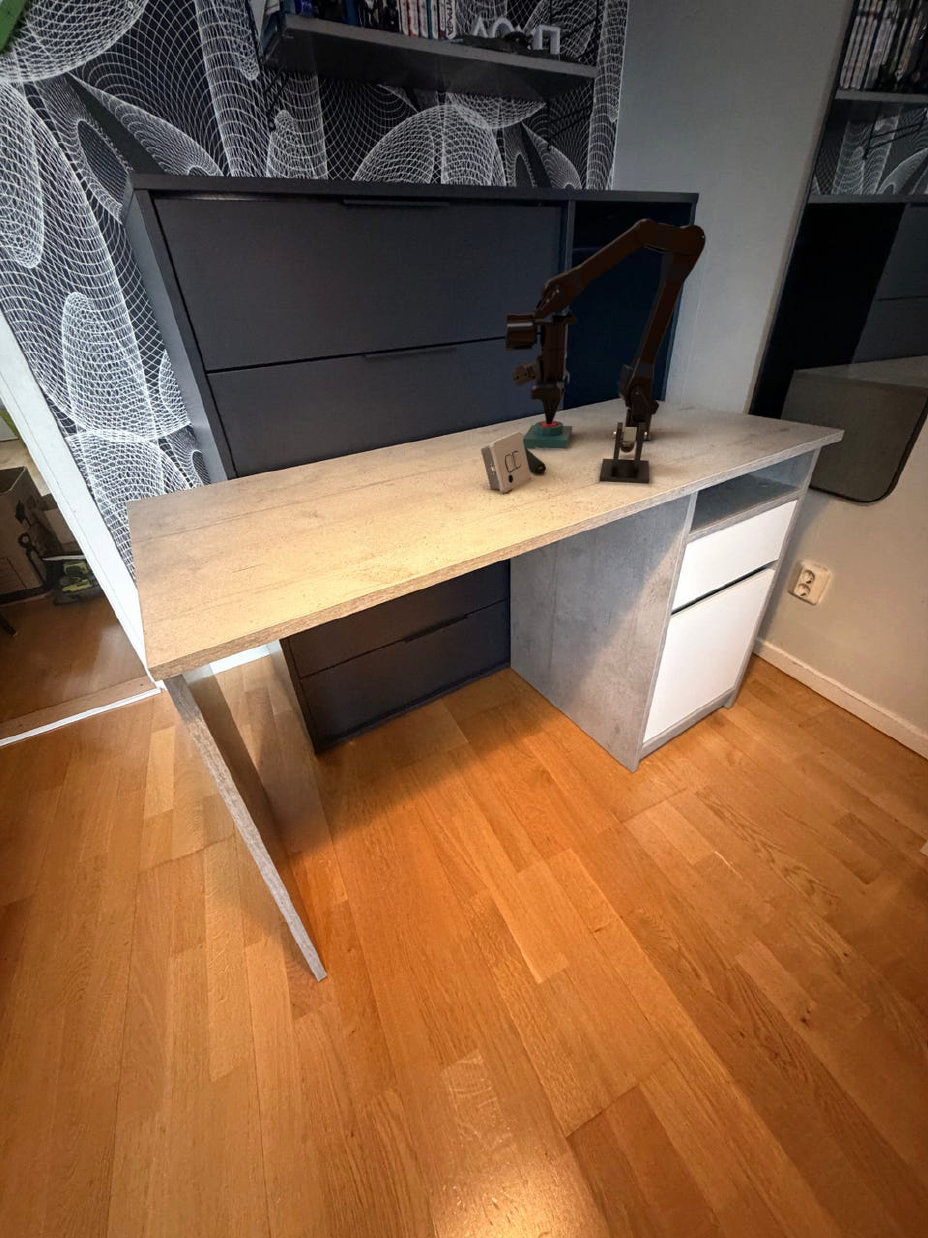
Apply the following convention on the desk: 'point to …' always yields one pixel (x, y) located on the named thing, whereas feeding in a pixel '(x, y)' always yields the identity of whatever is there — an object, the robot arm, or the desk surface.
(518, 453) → the electrical switch
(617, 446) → the bracket
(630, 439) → the lever
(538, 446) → the button block
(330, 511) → the desk surface
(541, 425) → the button
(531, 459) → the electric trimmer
